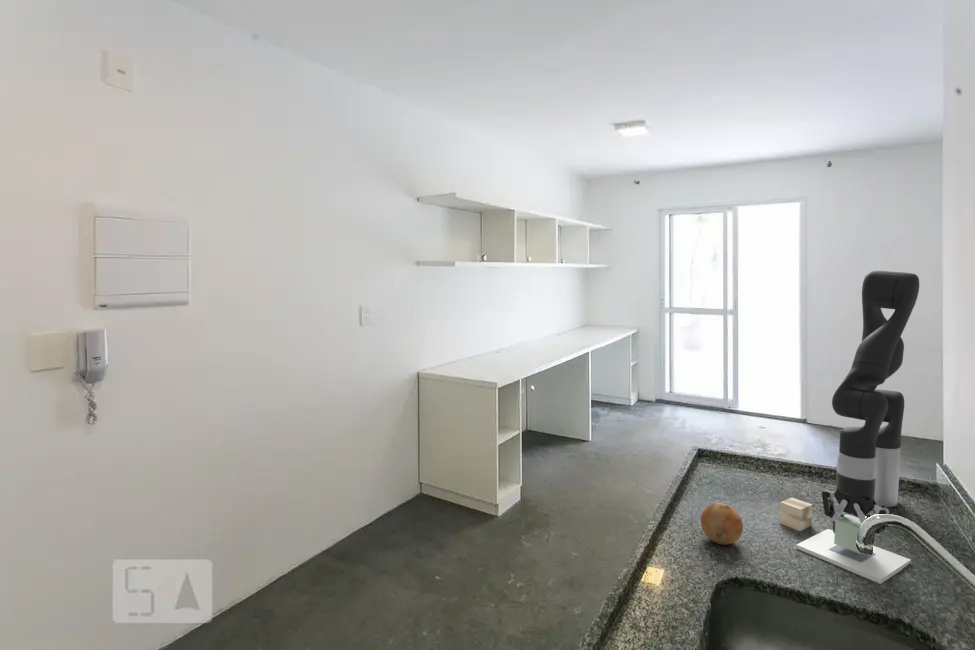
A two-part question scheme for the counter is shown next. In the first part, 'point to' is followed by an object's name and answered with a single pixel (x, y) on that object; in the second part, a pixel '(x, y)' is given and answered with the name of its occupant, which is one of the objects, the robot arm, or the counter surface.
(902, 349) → the robot arm
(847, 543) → the sage block
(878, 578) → the baseplate
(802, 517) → the beech block
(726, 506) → the onion
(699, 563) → the counter surface
